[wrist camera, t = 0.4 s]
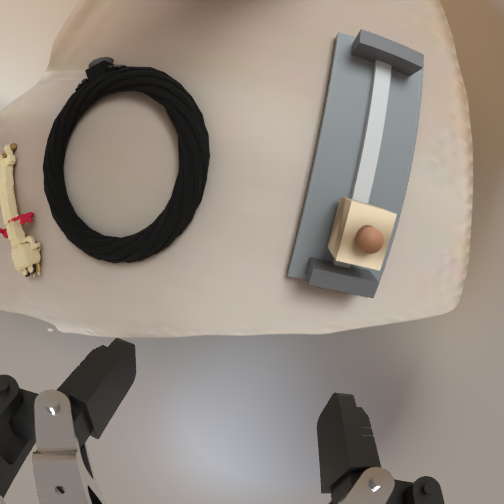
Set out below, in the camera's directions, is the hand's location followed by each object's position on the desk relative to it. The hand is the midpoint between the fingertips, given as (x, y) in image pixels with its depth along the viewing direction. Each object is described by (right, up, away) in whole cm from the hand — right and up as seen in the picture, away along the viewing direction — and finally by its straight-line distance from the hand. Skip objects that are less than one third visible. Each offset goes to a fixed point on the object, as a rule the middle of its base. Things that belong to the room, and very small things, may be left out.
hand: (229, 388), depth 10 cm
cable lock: (-18, +19, +24) cm, 35 cm away
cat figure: (-41, +13, +28) cm, 52 cm away
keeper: (+12, +8, +21) cm, 25 cm away
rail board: (+14, +16, +21) cm, 30 cm away
